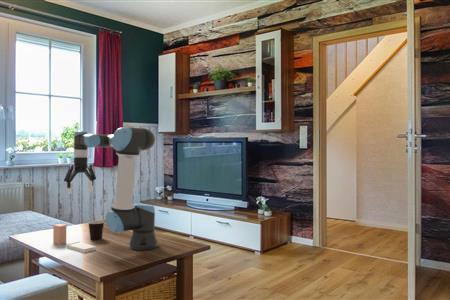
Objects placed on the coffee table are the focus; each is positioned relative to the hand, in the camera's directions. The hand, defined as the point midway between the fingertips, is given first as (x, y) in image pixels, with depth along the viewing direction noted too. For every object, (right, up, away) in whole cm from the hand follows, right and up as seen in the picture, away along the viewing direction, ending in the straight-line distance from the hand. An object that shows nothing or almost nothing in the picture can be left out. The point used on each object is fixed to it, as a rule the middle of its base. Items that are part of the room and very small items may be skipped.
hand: (80, 192), depth 220 cm
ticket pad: (+10, -27, -25) cm, 38 cm away
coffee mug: (+11, -27, -2) cm, 29 cm away
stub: (-6, -27, -14) cm, 31 cm away
